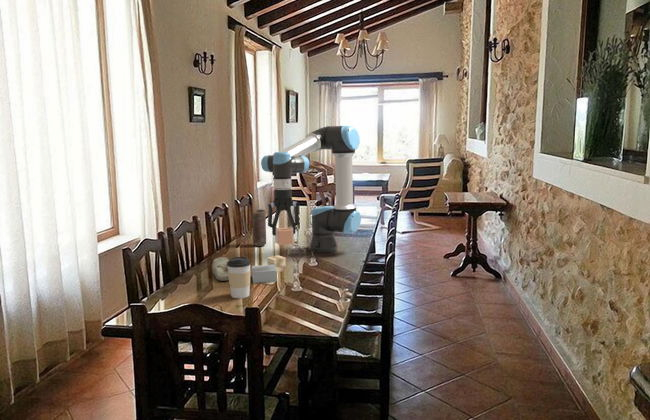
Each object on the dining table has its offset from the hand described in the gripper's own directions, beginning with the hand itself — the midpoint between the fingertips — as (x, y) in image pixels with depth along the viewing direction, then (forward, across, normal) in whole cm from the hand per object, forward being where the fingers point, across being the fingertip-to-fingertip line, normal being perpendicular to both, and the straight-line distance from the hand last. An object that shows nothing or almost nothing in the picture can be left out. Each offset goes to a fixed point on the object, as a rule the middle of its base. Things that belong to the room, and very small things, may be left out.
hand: (284, 242), depth 211 cm
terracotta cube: (0, 0, 0) cm, 0 cm away
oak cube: (+16, -1, +12) cm, 19 cm away
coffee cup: (+16, -22, -17) cm, 32 cm away
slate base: (+16, -9, +1) cm, 18 cm away
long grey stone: (+16, -24, +20) cm, 35 cm away
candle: (+15, +2, +62) cm, 64 cm away
